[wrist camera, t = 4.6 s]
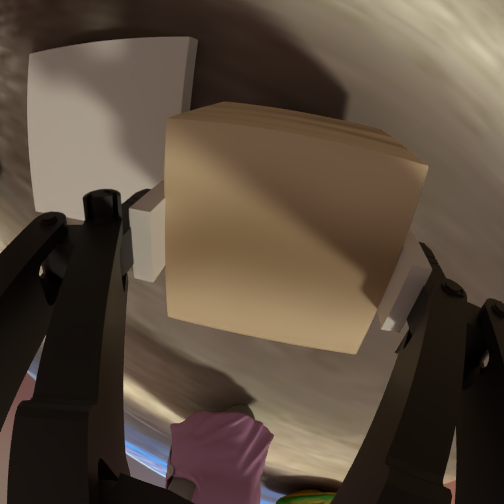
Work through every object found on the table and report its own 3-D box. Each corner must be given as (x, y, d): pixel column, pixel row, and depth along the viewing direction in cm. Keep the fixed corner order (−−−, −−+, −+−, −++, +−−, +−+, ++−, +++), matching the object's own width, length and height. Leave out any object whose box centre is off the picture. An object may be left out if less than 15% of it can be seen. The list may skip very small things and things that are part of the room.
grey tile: (43, 52, 16) (29, 53, 14) (198, 39, 15) (189, 36, 14) (47, 203, 22) (35, 211, 20) (182, 227, 21) (174, 238, 20)
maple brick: (224, 101, 15) (166, 118, 9) (382, 130, 14) (428, 166, 8) (212, 238, 19) (167, 316, 13) (346, 264, 18) (355, 354, 12)
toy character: (211, 368, 28) (146, 577, 11) (297, 412, 30) (274, 597, 13) (161, 409, 34) (107, 555, 16) (233, 444, 36) (201, 583, 18)
